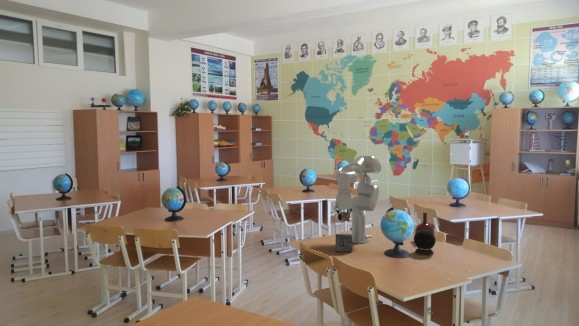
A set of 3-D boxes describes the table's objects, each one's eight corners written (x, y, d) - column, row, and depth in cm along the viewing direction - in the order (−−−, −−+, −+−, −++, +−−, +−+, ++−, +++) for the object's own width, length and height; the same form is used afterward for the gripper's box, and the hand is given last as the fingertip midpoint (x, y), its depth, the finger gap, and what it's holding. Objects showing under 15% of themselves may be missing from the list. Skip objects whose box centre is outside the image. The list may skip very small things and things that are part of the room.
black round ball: (409, 251, 267) (409, 228, 266) (426, 249, 271) (427, 226, 270) (421, 256, 255) (422, 232, 254) (439, 254, 259) (440, 230, 258)
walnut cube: (345, 219, 270) (345, 211, 270) (349, 220, 265) (349, 213, 265) (338, 219, 269) (338, 212, 268) (342, 221, 264) (342, 213, 264)
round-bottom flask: (437, 244, 283) (437, 215, 282) (417, 244, 284) (418, 215, 282) (430, 239, 296) (431, 211, 295) (412, 239, 297) (412, 211, 295)
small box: (351, 249, 271) (351, 233, 270) (352, 252, 265) (352, 236, 264) (335, 249, 272) (335, 233, 272) (335, 252, 266) (335, 236, 265)
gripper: (353, 190, 272) (353, 217, 273) (329, 191, 267) (329, 219, 268) (358, 191, 265) (358, 219, 266) (334, 193, 260) (334, 221, 261)
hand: (343, 219), depth 267 cm, fingers closed on walnut cube, 5 cm apart
